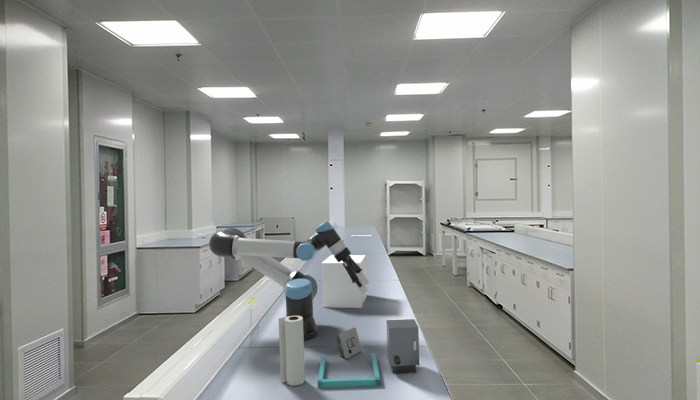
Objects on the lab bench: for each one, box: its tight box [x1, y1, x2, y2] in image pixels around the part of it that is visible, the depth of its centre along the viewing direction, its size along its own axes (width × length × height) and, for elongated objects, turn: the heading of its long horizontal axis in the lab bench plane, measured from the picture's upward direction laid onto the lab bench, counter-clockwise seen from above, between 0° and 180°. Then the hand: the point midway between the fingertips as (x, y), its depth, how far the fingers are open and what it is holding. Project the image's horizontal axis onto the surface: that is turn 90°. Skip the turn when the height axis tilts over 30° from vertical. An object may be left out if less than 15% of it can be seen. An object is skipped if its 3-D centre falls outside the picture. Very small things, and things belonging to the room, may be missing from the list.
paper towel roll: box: [278, 316, 306, 387], centre depth 129 cm, size 7×6×21 cm
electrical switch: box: [335, 327, 362, 360], centre depth 149 cm, size 9×5×9 cm, turn 141°
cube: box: [320, 254, 368, 309], centre depth 221 cm, size 25×21×24 cm
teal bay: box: [317, 352, 381, 389], centre depth 134 cm, size 20×20×2 cm
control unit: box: [385, 318, 420, 374], centre depth 135 cm, size 10×10×16 cm
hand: (366, 287), depth 182 cm, fingers open, 13 cm apart
